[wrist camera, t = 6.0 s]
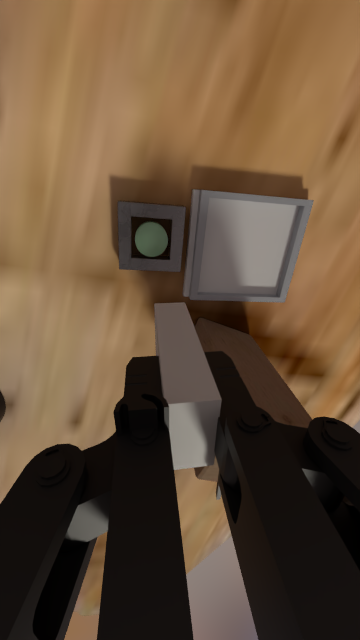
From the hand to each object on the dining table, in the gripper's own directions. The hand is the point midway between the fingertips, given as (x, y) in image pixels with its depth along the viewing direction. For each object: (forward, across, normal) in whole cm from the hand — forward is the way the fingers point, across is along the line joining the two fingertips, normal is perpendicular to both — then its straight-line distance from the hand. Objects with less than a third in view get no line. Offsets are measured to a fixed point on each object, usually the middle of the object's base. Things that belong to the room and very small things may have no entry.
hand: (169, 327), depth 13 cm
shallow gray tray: (+24, +13, -1) cm, 28 cm away
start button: (+24, 0, +1) cm, 24 cm away
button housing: (+24, 0, +1) cm, 24 cm away
